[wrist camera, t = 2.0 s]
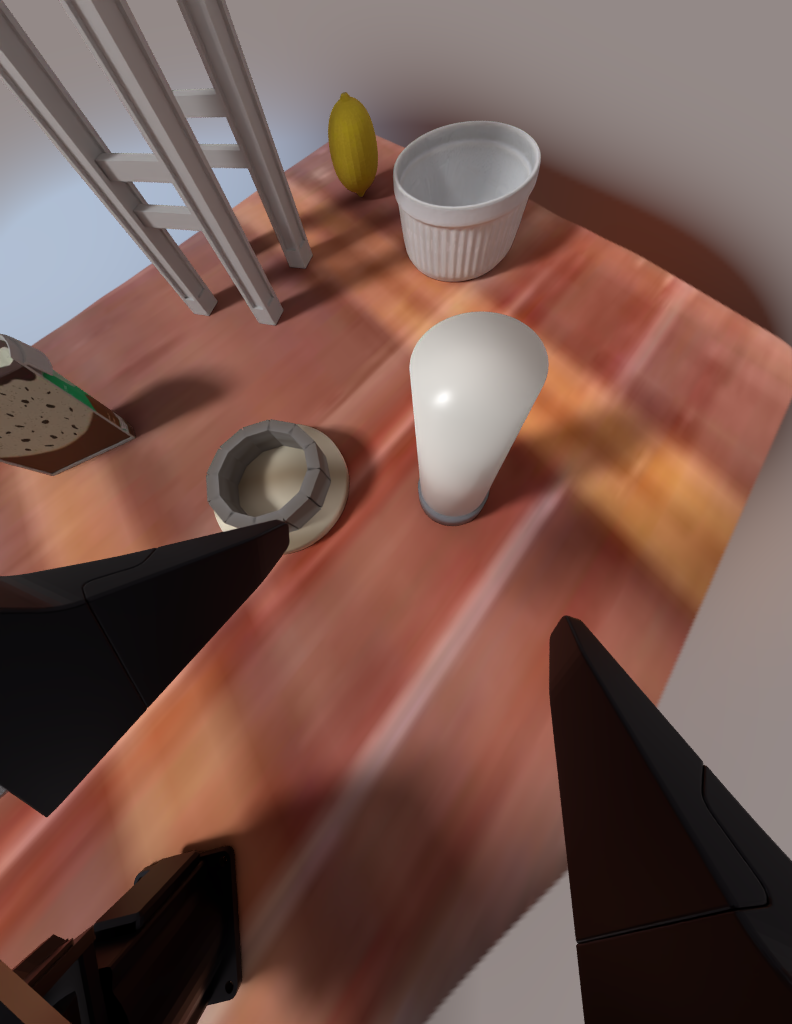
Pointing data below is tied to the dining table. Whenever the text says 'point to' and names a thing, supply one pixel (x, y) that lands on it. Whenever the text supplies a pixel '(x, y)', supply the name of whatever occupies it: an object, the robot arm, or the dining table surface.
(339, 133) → the lemon
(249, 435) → the socket
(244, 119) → the stool
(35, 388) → the food container
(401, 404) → the dining table surface
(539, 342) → the white smooth rounded part
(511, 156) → the ramekin
